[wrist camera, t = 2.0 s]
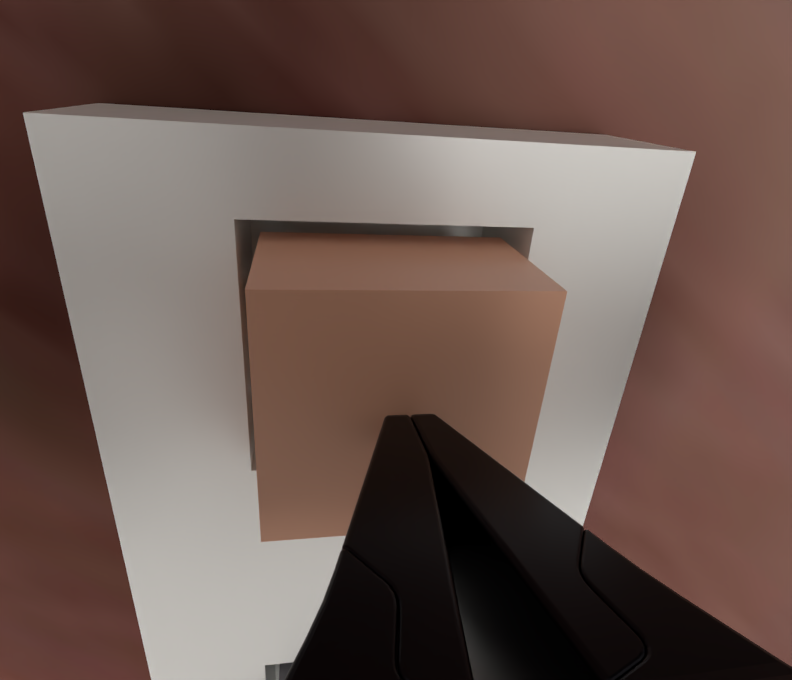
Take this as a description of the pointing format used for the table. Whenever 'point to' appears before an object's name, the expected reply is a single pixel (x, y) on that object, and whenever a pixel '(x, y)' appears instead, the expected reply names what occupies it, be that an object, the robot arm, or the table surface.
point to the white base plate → (228, 337)
